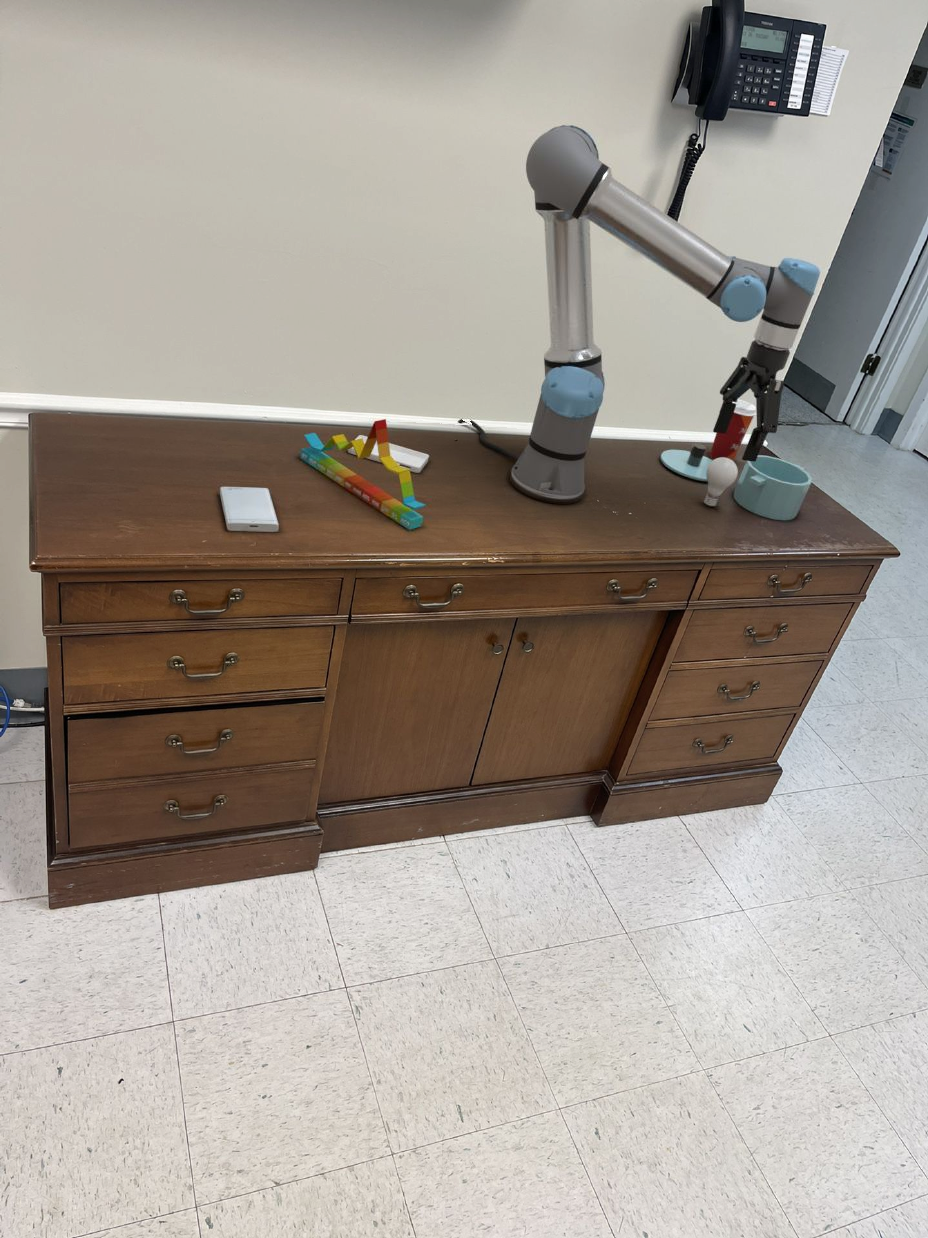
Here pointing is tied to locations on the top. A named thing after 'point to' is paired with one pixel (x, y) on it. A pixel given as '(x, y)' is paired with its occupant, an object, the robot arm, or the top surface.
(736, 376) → the robot arm
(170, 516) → the top surface
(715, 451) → the paper cup
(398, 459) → the phone case
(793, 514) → the pot
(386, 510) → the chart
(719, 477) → the lightbulb
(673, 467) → the lid
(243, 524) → the hard drive
